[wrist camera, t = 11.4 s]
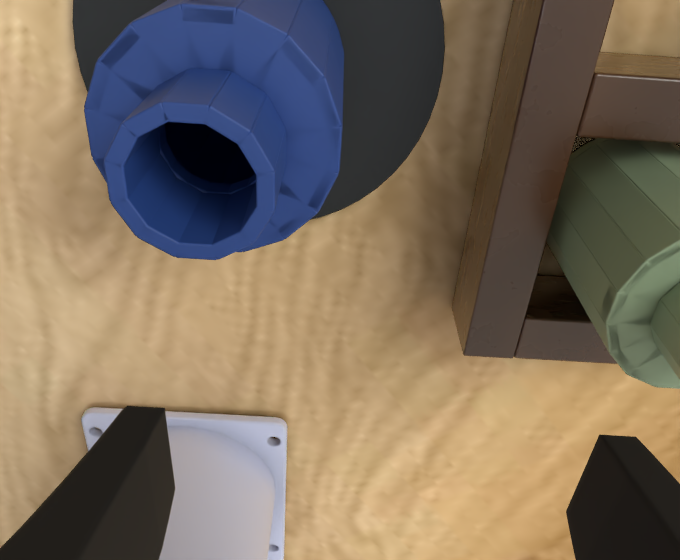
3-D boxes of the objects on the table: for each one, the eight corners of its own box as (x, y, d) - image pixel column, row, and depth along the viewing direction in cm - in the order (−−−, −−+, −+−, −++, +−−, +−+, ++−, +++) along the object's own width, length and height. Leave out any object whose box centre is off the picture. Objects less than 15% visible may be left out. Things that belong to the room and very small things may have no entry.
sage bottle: (660, 268, 20) (830, 473, 13) (524, 260, 20) (621, 463, 13) (715, 135, 18) (961, 299, 11) (560, 125, 18) (703, 284, 11)
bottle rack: (986, -282, 13) (1117, -318, 11) (698, 322, 22) (737, 372, 19) (576, -318, 13) (624, -361, 11) (451, 308, 21) (462, 356, 19)
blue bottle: (337, 145, 18) (330, 316, 11) (180, 135, 18) (66, 301, 11) (349, -30, 15) (351, 40, 8) (165, -43, 15) (6, 16, 8)
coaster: (417, 229, 20) (418, 234, 19) (104, 209, 19) (101, 214, 19) (473, -148, 14) (476, -149, 14) (42, -183, 14) (36, -184, 14)
